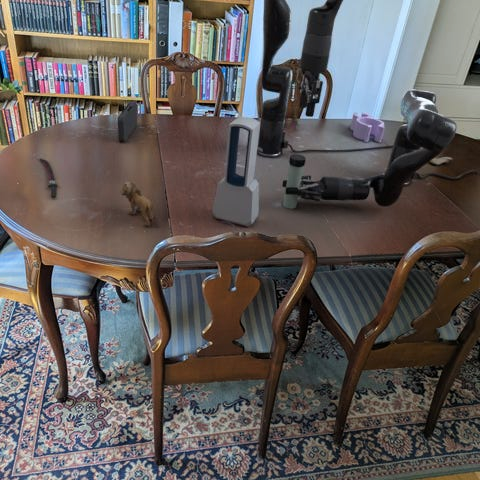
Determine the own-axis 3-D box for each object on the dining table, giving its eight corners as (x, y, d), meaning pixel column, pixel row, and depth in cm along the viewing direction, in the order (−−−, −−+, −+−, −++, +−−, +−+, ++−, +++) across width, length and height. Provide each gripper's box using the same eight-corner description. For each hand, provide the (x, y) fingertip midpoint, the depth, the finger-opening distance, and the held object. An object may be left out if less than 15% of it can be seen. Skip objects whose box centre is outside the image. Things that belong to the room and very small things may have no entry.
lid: (297, 159, 146) (298, 152, 144) (307, 165, 143) (309, 158, 141) (285, 162, 143) (286, 155, 142) (296, 168, 140) (297, 161, 139)
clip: (343, 126, 223) (346, 112, 219) (367, 127, 225) (371, 113, 221) (360, 142, 206) (364, 127, 202) (386, 142, 209) (390, 127, 205)
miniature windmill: (295, 130, 212) (306, 61, 195) (276, 127, 213) (286, 58, 196) (297, 124, 219) (308, 57, 203) (279, 121, 220) (288, 54, 204)
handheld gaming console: (131, 122, 200) (130, 99, 195) (137, 123, 200) (136, 100, 195) (117, 142, 181) (116, 117, 175) (124, 142, 181) (123, 117, 176)
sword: (61, 197, 141) (61, 193, 140) (50, 198, 139) (50, 194, 139) (49, 160, 164) (48, 156, 163) (39, 160, 163) (39, 157, 162)
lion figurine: (118, 210, 138) (116, 182, 133) (132, 204, 141) (131, 177, 137) (151, 229, 130) (150, 201, 126) (165, 223, 134) (165, 195, 129)
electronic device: (258, 217, 142) (270, 121, 125) (250, 229, 135) (262, 130, 119) (220, 208, 144) (227, 113, 128) (210, 219, 138) (217, 120, 122)
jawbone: (444, 169, 189) (445, 165, 188) (396, 154, 200) (397, 150, 198) (451, 162, 195) (453, 157, 194) (405, 147, 205) (406, 143, 204)
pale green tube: (290, 201, 153) (297, 154, 144) (299, 206, 150) (307, 159, 142) (280, 204, 151) (287, 157, 142) (289, 209, 148) (297, 162, 139)
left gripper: (296, 45, 131) (287, 103, 139) (309, 56, 119) (299, 119, 128) (322, 47, 132) (311, 104, 141) (337, 58, 120) (325, 120, 129)
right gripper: (332, 168, 153) (281, 166, 151) (345, 188, 141) (290, 186, 139) (327, 188, 157) (278, 187, 155) (340, 209, 145) (287, 208, 143)
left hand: (305, 111), depth 134 cm, fingers open, 7 cm apart
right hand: (284, 187), depth 147 cm, fingers closed on pale green tube, 4 cm apart
